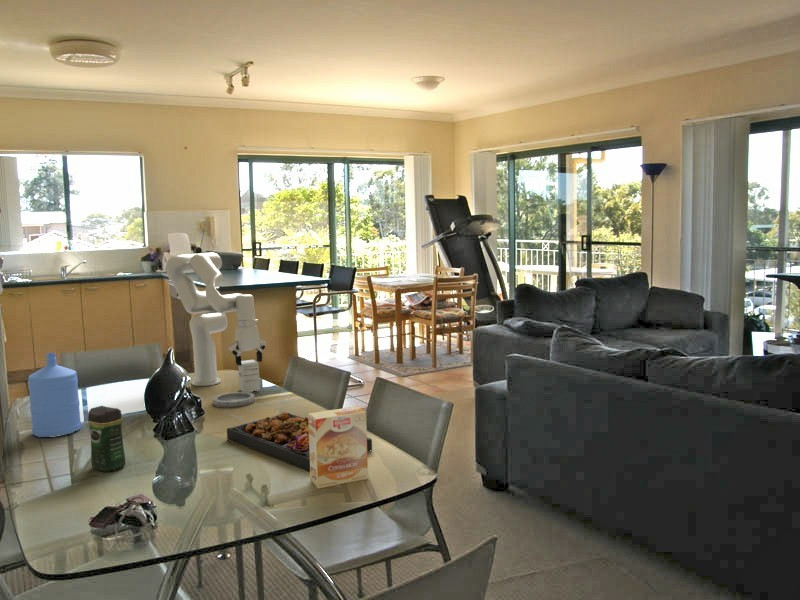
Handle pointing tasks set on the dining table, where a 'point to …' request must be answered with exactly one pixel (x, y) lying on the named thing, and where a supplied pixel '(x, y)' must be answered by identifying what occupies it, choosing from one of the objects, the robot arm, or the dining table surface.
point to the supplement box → (249, 376)
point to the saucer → (233, 399)
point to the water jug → (54, 400)
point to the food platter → (278, 438)
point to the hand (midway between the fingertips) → (249, 363)
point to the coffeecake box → (338, 446)
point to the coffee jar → (106, 438)
